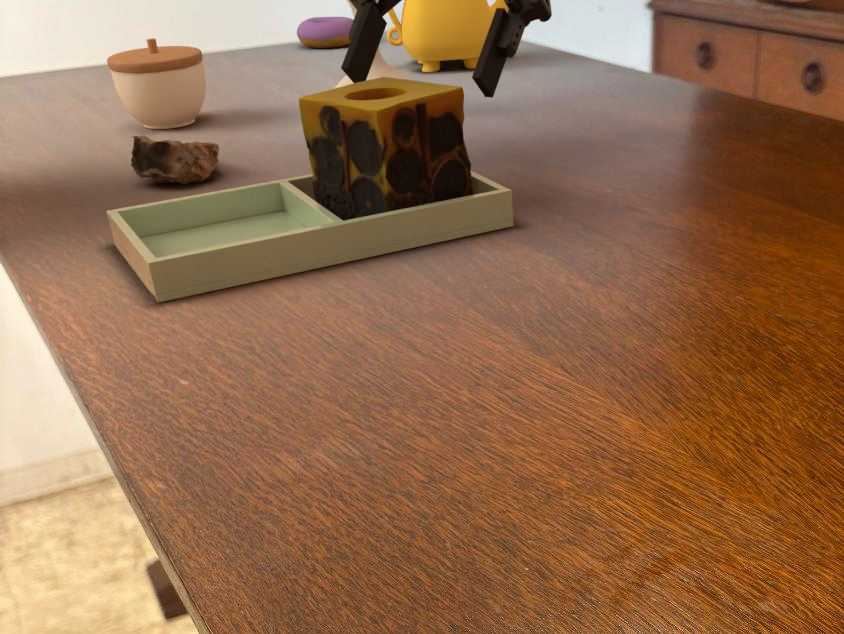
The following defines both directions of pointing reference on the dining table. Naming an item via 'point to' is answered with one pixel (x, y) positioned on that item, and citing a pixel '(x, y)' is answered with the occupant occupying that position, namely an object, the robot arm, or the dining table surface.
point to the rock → (173, 160)
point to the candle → (386, 146)
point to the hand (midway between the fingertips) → (415, 83)
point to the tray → (281, 233)
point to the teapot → (443, 30)
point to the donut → (325, 32)
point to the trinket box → (160, 84)
